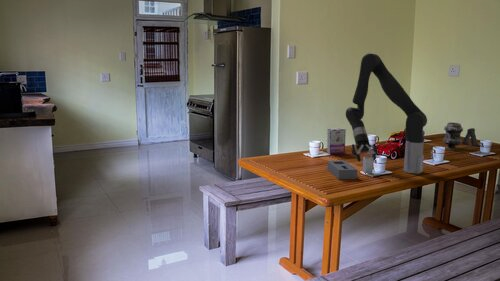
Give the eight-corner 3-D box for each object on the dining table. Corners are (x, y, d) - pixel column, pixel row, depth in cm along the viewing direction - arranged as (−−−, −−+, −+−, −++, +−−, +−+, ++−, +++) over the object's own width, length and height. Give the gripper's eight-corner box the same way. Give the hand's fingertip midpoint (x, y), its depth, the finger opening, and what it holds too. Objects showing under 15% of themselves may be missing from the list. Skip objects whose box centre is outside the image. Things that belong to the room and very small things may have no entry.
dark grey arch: (461, 144, 308) (463, 128, 306) (465, 143, 312) (466, 127, 309) (474, 146, 301) (476, 129, 299) (477, 145, 305) (479, 128, 303)
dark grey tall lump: (460, 151, 285) (463, 125, 282) (441, 149, 291) (443, 123, 287) (461, 148, 295) (464, 122, 292) (443, 146, 301) (445, 121, 298)
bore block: (344, 168, 240) (344, 160, 239) (356, 178, 221) (357, 169, 220) (327, 169, 239) (327, 160, 238) (338, 179, 219) (338, 170, 219)
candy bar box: (341, 151, 283) (342, 127, 280) (345, 153, 279) (346, 129, 275) (326, 152, 280) (327, 128, 277) (329, 154, 276) (330, 129, 272)
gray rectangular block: (369, 172, 234) (370, 156, 232) (372, 173, 230) (373, 158, 228) (362, 172, 233) (363, 156, 231) (365, 174, 229) (366, 158, 228)
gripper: (350, 133, 236) (356, 157, 227) (374, 132, 238) (381, 157, 229) (346, 140, 243) (352, 164, 234) (370, 140, 244) (377, 164, 235)
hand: (367, 160), depth 231 cm, fingers open, 8 cm apart
